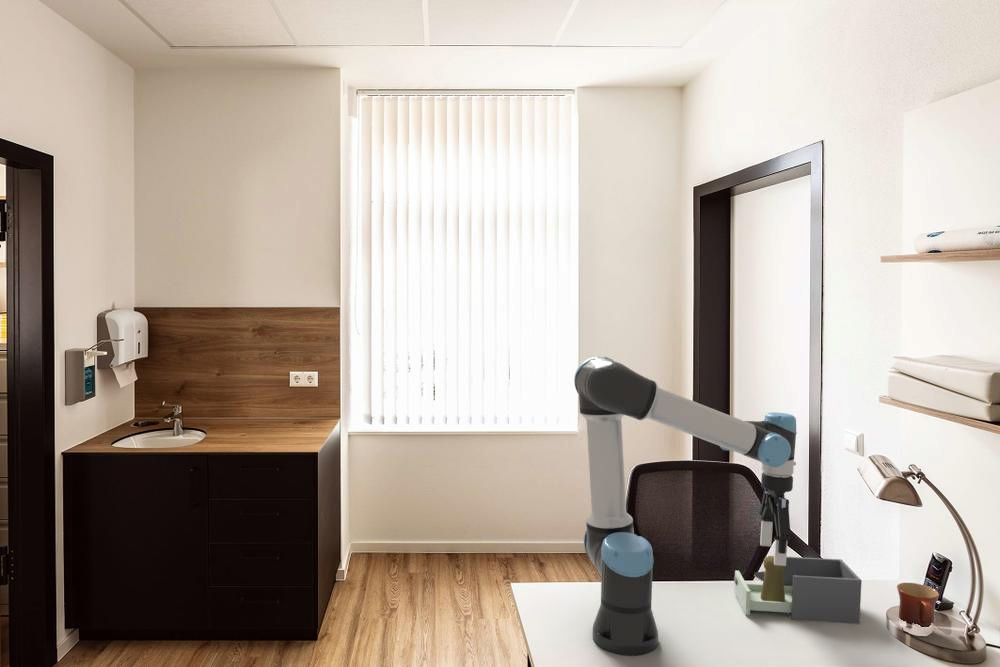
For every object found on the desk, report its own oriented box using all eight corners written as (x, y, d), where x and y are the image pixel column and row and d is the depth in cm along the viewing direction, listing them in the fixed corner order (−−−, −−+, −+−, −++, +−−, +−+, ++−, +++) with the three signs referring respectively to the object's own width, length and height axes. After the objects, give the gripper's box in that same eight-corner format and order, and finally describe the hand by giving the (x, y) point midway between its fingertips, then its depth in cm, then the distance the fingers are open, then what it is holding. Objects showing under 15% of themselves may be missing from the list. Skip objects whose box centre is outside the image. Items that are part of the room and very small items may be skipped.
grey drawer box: (792, 619, 177) (793, 576, 176) (777, 596, 191) (778, 556, 190) (859, 623, 175) (861, 580, 175) (839, 599, 189) (841, 559, 188)
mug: (889, 621, 177) (891, 580, 176) (928, 624, 175) (930, 584, 175) (907, 644, 165) (909, 601, 165) (948, 648, 164) (951, 605, 163)
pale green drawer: (744, 614, 179) (744, 591, 178) (732, 592, 192) (733, 570, 191) (806, 618, 177) (807, 594, 176) (791, 595, 190) (791, 573, 190)
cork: (782, 595, 187) (783, 554, 186) (788, 605, 181) (789, 562, 180) (758, 593, 187) (759, 552, 187) (763, 603, 182) (764, 561, 181)
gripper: (808, 487, 169) (802, 575, 170) (779, 463, 194) (774, 539, 195) (775, 485, 170) (770, 572, 171) (750, 461, 195) (746, 537, 196)
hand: (772, 555), depth 183 cm, fingers open, 13 cm apart
